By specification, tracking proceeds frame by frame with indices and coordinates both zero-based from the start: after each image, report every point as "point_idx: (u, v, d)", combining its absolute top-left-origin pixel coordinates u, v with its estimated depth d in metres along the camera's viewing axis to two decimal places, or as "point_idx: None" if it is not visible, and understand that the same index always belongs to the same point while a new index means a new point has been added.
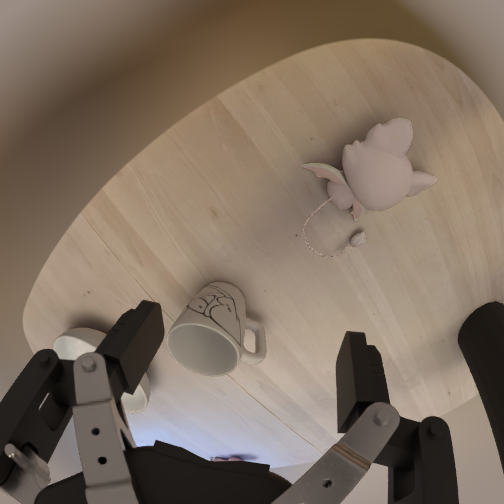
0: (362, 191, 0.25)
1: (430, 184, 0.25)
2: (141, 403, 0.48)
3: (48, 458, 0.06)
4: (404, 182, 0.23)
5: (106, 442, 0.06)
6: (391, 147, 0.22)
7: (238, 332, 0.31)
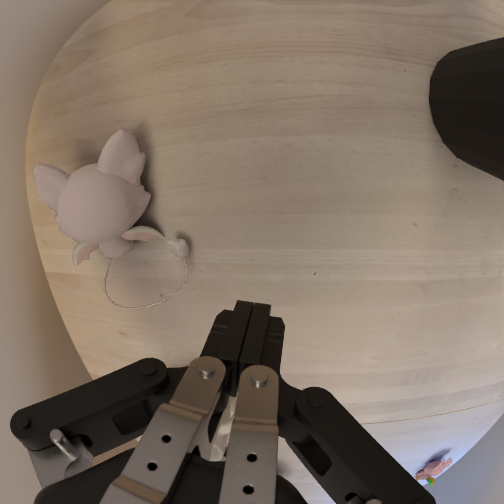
0: (85, 241, 0.21)
1: (117, 145, 0.19)
2: None
3: (101, 452, 0.07)
4: (83, 193, 0.19)
5: (168, 454, 0.06)
6: (53, 193, 0.19)
7: None
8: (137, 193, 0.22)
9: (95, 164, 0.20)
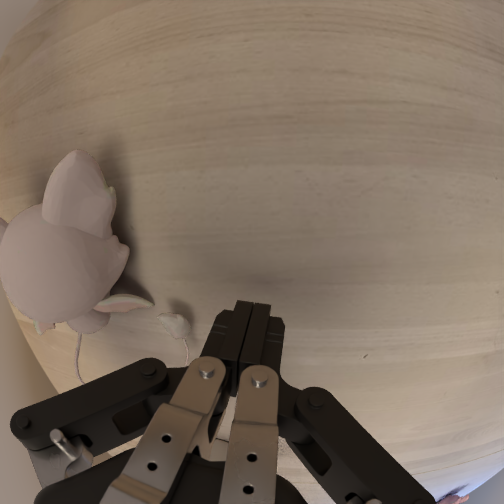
0: (38, 321, 0.13)
1: (67, 178, 0.11)
2: None
3: (101, 452, 0.07)
4: (22, 258, 0.11)
5: (168, 454, 0.06)
6: None
7: None
8: (107, 251, 0.14)
9: (41, 207, 0.12)
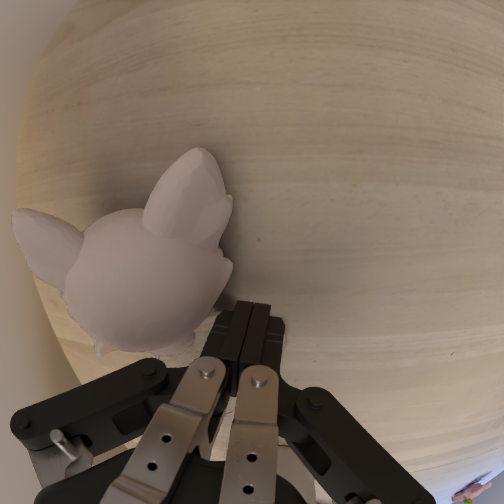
0: (124, 350, 0.12)
1: (190, 182, 0.10)
2: None
3: (101, 452, 0.07)
4: (119, 280, 0.10)
5: (169, 454, 0.06)
6: (54, 266, 0.10)
7: None
8: (216, 267, 0.13)
9: (136, 214, 0.11)
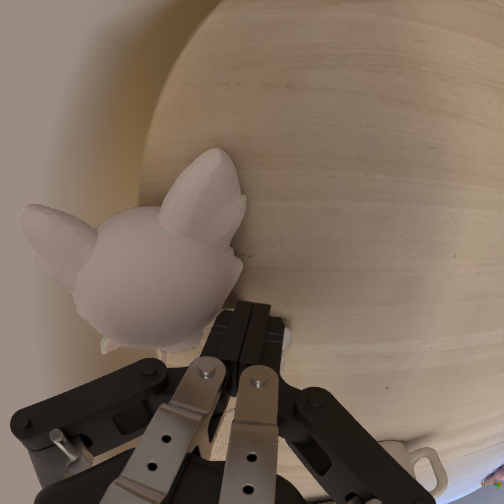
0: (135, 348, 0.12)
1: (209, 183, 0.10)
2: None
3: (101, 452, 0.07)
4: (136, 279, 0.10)
5: (169, 454, 0.06)
6: (66, 264, 0.10)
7: None
8: (228, 266, 0.14)
9: (151, 212, 0.11)
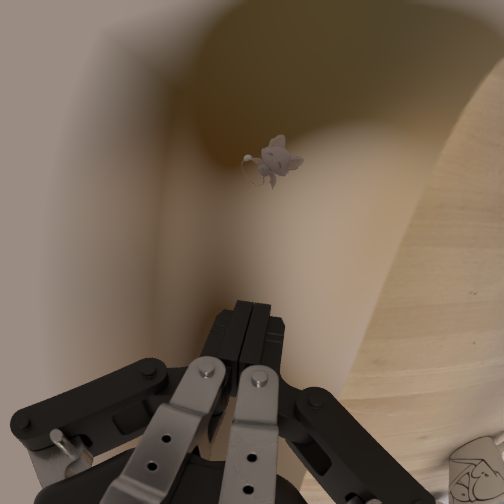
0: None
1: None
2: None
3: (101, 452, 0.07)
4: None
5: (168, 454, 0.06)
6: None
7: (502, 483, 0.14)
8: None
9: (284, 148, 0.71)
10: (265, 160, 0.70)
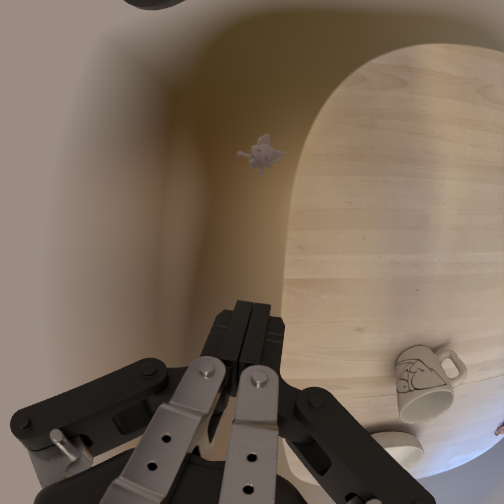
0: None
1: None
2: (418, 451, 0.45)
3: (101, 452, 0.07)
4: None
5: (169, 454, 0.06)
6: None
7: (438, 378, 0.31)
8: None
9: (269, 145, 0.88)
10: (254, 155, 0.88)
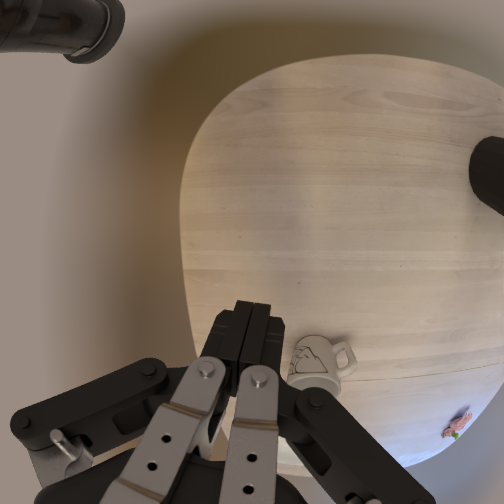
0: None
1: None
2: None
3: (101, 452, 0.07)
4: None
5: (168, 454, 0.06)
6: None
7: (320, 365, 0.40)
8: None
9: None
10: None
